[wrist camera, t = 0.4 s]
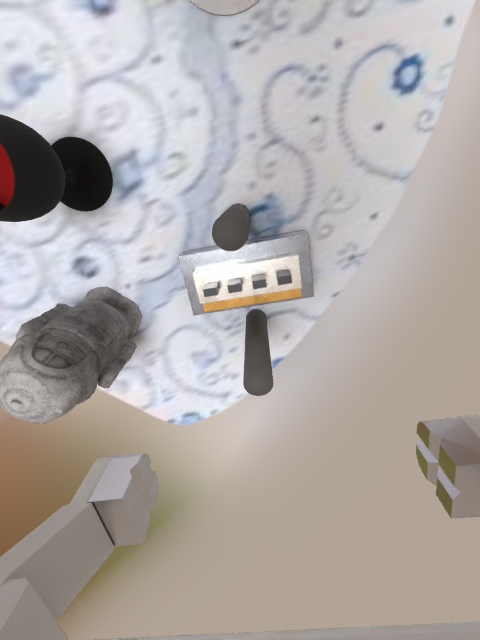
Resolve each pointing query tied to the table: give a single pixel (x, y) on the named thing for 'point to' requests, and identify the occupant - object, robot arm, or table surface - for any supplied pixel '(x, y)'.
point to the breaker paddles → (237, 285)
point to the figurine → (67, 355)
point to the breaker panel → (248, 254)
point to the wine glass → (48, 173)
